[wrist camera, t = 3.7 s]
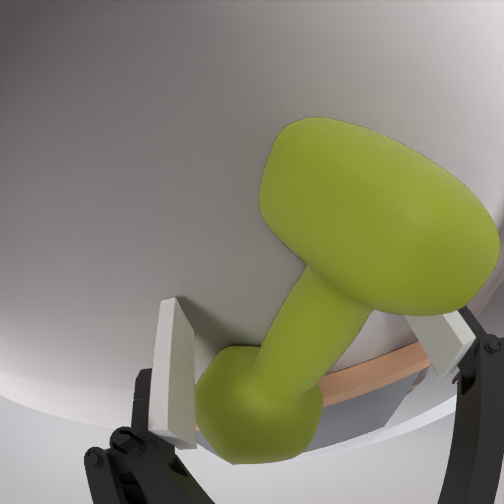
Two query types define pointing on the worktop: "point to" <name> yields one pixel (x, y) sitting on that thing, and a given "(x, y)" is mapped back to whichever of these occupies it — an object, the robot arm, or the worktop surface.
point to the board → (351, 415)
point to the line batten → (372, 374)
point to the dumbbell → (341, 275)
